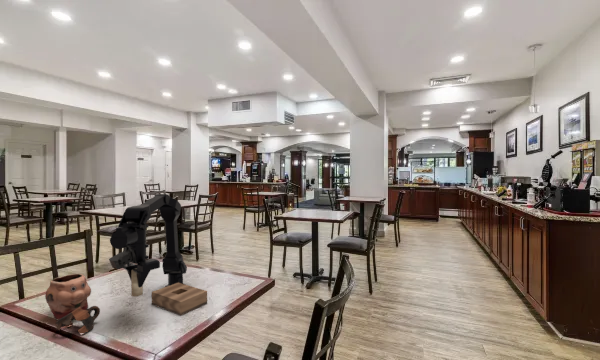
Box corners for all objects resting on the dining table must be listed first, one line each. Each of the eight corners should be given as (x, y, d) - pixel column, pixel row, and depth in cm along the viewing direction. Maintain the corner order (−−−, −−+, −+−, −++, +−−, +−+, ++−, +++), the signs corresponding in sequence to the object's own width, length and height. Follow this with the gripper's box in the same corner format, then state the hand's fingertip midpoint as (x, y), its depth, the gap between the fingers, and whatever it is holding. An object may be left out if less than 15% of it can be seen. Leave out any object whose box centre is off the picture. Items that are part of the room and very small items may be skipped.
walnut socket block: (151, 304, 116) (151, 291, 116) (178, 294, 126) (178, 282, 126) (180, 315, 106) (180, 301, 106) (207, 303, 117) (207, 291, 117)
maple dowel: (129, 295, 104) (129, 269, 104) (139, 292, 107) (139, 267, 107) (134, 297, 102) (134, 271, 102) (144, 294, 105) (144, 268, 105)
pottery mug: (73, 342, 90) (58, 320, 90) (61, 348, 94) (47, 326, 94) (110, 316, 101) (97, 296, 100) (98, 322, 105) (85, 302, 105)
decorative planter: (32, 316, 106) (31, 278, 106) (70, 303, 117) (69, 268, 117) (65, 328, 98) (64, 286, 98) (102, 312, 109) (102, 275, 109)
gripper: (99, 243, 103) (99, 288, 103) (128, 250, 93) (128, 299, 93) (131, 238, 112) (131, 278, 112) (160, 243, 103) (161, 288, 103)
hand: (137, 286), depth 105 cm, fingers closed on maple dowel, 3 cm apart
